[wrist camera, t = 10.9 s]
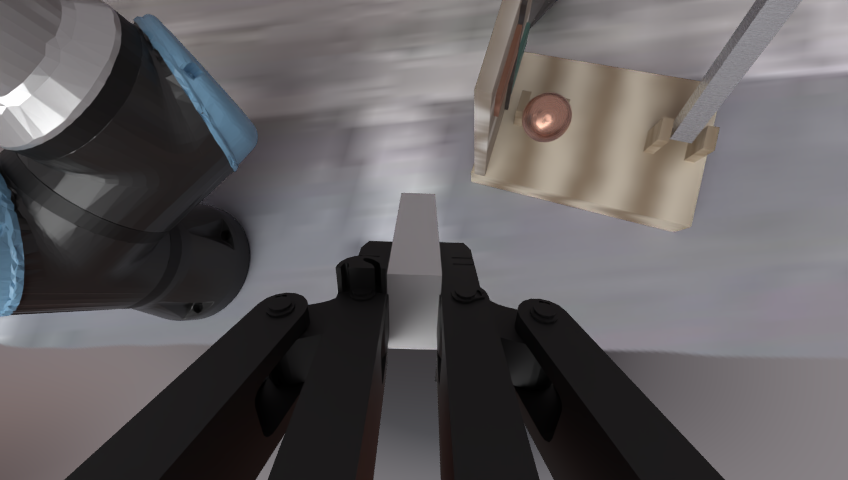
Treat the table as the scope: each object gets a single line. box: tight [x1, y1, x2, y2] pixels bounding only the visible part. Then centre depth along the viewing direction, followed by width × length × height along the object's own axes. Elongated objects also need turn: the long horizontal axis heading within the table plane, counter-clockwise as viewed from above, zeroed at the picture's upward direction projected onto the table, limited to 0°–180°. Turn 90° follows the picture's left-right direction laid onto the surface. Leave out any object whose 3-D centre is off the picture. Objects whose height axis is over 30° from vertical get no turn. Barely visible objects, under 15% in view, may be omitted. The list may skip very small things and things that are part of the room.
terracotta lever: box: [522, 92, 572, 142], centre depth 29 cm, size 3×3×17 cm
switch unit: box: [471, 0, 719, 232], centre depth 30 cm, size 23×16×19 cm
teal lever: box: [670, 0, 802, 143], centre depth 27 cm, size 3×3×17 cm
